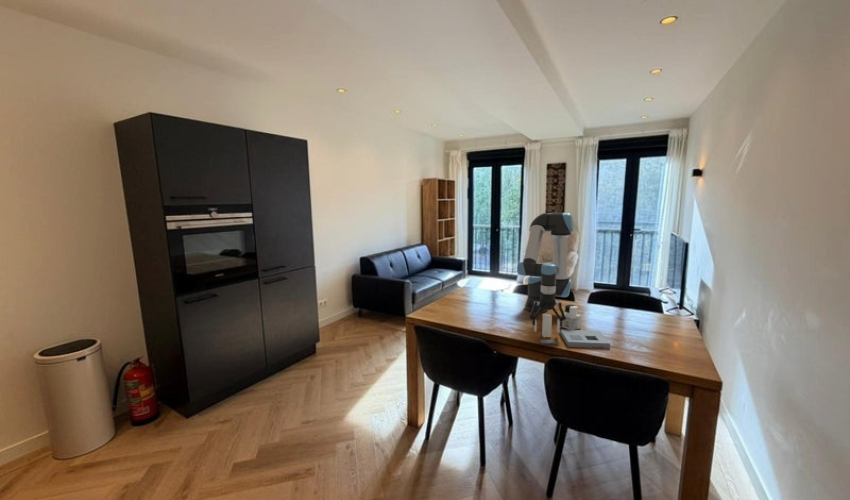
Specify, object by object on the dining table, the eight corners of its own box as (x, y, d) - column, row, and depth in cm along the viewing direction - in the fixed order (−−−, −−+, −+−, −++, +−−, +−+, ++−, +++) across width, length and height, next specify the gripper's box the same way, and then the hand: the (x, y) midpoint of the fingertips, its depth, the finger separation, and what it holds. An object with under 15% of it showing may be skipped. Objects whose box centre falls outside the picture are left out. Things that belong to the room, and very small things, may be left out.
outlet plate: (560, 333, 189) (560, 329, 189) (598, 335, 186) (599, 330, 186) (567, 346, 174) (568, 341, 173) (610, 348, 171) (610, 343, 170)
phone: (539, 341, 181) (539, 339, 181) (555, 341, 180) (555, 340, 179) (541, 344, 177) (541, 343, 176) (557, 345, 175) (557, 343, 175)
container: (560, 326, 201) (561, 304, 199) (570, 323, 203) (571, 302, 201) (570, 330, 194) (571, 308, 192) (580, 328, 196) (582, 306, 194)
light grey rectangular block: (542, 334, 189) (542, 313, 188) (549, 334, 189) (550, 313, 187) (543, 337, 186) (544, 316, 184) (551, 337, 185) (551, 316, 183)
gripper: (526, 294, 181) (525, 333, 185) (573, 294, 178) (571, 334, 181) (524, 290, 189) (523, 327, 192) (569, 290, 185) (567, 329, 189)
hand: (546, 331), depth 187 cm, fingers open, 11 cm apart
